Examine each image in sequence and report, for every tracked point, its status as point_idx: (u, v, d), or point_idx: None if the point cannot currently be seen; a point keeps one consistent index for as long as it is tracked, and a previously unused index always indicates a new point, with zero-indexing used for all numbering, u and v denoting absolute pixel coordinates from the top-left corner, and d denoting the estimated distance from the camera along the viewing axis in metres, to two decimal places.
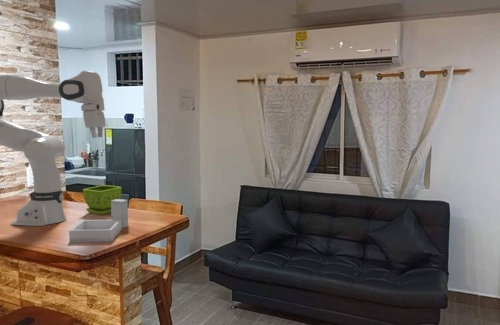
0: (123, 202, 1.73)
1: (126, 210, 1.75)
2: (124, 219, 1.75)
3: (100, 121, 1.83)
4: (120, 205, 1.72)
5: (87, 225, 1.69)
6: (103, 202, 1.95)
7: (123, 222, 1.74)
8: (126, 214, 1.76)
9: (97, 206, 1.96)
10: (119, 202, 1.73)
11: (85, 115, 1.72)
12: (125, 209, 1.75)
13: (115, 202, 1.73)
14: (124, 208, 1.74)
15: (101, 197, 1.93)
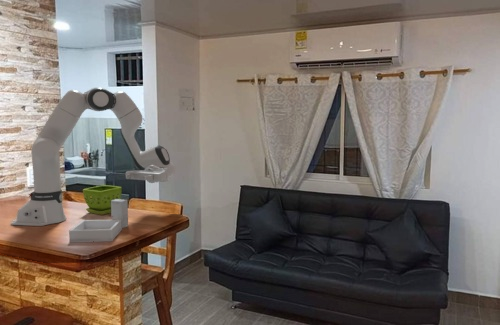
0: (123, 202, 1.73)
1: (126, 210, 1.75)
2: (124, 219, 1.75)
3: None
4: (120, 205, 1.72)
5: (87, 225, 1.69)
6: (103, 202, 1.95)
7: (123, 222, 1.74)
8: (126, 214, 1.76)
9: (97, 206, 1.96)
10: (119, 202, 1.73)
11: (165, 173, 1.91)
12: (125, 209, 1.75)
13: (115, 202, 1.73)
14: (124, 208, 1.74)
15: (101, 197, 1.93)
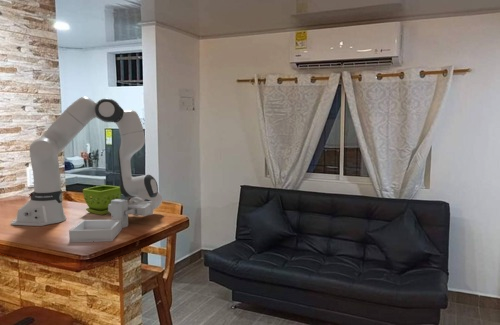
0: (123, 202, 1.73)
1: None
2: (124, 219, 1.75)
3: None
4: (120, 205, 1.72)
5: (87, 225, 1.69)
6: (103, 202, 1.95)
7: (123, 222, 1.74)
8: None
9: (97, 206, 1.96)
10: (119, 202, 1.73)
11: (149, 206, 1.81)
12: (125, 209, 1.75)
13: (115, 202, 1.73)
14: (124, 208, 1.74)
15: (101, 197, 1.93)
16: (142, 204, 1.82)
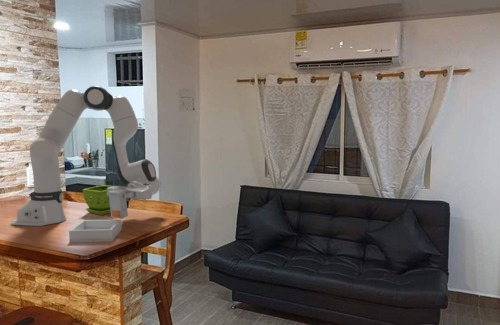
0: (121, 193, 1.72)
1: (124, 200, 1.75)
2: (123, 210, 1.74)
3: None
4: (118, 196, 1.71)
5: (87, 225, 1.69)
6: (103, 202, 1.95)
7: (123, 213, 1.74)
8: (125, 204, 1.75)
9: (97, 206, 1.96)
10: (117, 194, 1.71)
11: (148, 190, 1.80)
12: (124, 200, 1.74)
13: (113, 194, 1.72)
14: (122, 199, 1.73)
15: (101, 197, 1.93)
16: (141, 188, 1.81)
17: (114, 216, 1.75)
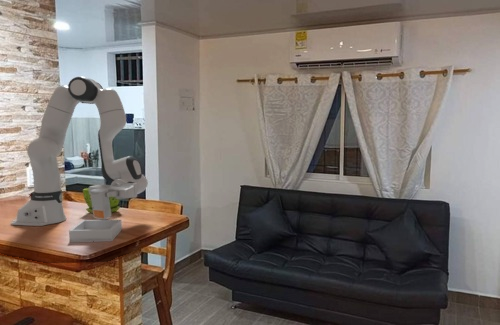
0: (103, 192, 1.61)
1: (107, 200, 1.64)
2: (106, 209, 1.64)
3: None
4: (100, 195, 1.61)
5: (87, 225, 1.69)
6: None
7: (106, 213, 1.63)
8: (108, 204, 1.64)
9: None
10: (99, 192, 1.61)
11: (133, 189, 1.69)
12: (107, 199, 1.63)
13: (94, 192, 1.61)
14: (105, 198, 1.62)
15: None
16: (125, 186, 1.71)
17: (97, 216, 1.64)
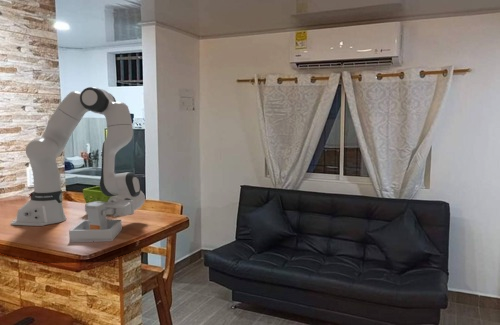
0: (99, 206, 1.59)
1: None
2: (103, 224, 1.62)
3: None
4: (97, 210, 1.59)
5: (87, 225, 1.69)
6: None
7: (102, 228, 1.61)
8: (104, 218, 1.62)
9: None
10: (95, 207, 1.59)
11: (130, 206, 1.67)
12: None
13: (91, 207, 1.59)
14: None
15: (101, 197, 1.93)
16: (122, 203, 1.69)
17: None
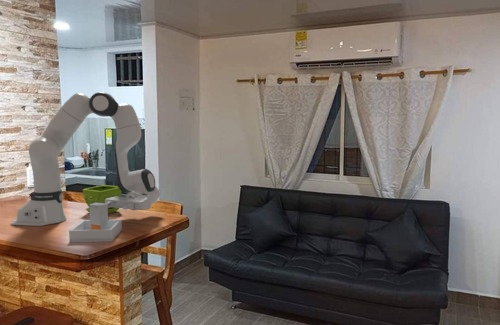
0: (102, 206, 1.61)
1: (106, 215, 1.63)
2: (104, 224, 1.62)
3: None
4: (99, 209, 1.60)
5: (87, 225, 1.69)
6: (103, 202, 1.95)
7: (103, 228, 1.62)
8: (106, 219, 1.63)
9: None
10: (98, 206, 1.60)
11: (147, 201, 1.78)
12: (105, 214, 1.62)
13: (94, 206, 1.61)
14: (103, 213, 1.61)
15: (101, 197, 1.93)
16: (139, 198, 1.80)
17: None
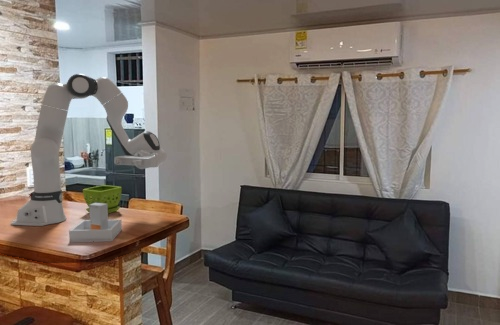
0: (102, 206, 1.61)
1: (106, 215, 1.63)
2: (104, 224, 1.62)
3: None
4: (99, 209, 1.60)
5: (87, 225, 1.69)
6: (103, 202, 1.95)
7: (103, 228, 1.62)
8: (106, 219, 1.63)
9: None
10: (98, 206, 1.60)
11: (155, 158, 1.84)
12: (105, 214, 1.62)
13: (94, 206, 1.61)
14: (103, 213, 1.61)
15: (101, 197, 1.93)
16: (147, 156, 1.86)
17: None
